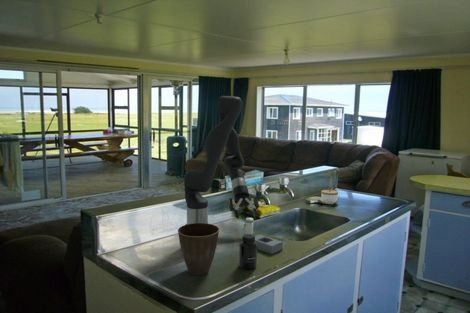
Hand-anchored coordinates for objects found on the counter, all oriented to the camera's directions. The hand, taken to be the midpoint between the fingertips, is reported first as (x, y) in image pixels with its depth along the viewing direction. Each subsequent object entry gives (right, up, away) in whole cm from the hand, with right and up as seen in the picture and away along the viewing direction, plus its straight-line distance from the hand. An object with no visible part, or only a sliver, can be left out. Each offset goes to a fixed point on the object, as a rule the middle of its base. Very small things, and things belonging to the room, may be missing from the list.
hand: (246, 217), depth 171 cm
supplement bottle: (-1, -13, -33) cm, 36 cm away
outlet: (+8, -11, -14) cm, 19 cm away
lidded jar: (+56, -2, +65) cm, 86 cm away
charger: (+1, -9, -3) cm, 10 cm away
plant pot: (-19, -14, -38) cm, 44 cm away
